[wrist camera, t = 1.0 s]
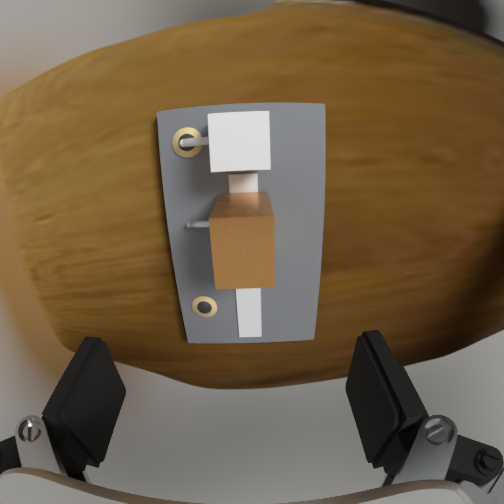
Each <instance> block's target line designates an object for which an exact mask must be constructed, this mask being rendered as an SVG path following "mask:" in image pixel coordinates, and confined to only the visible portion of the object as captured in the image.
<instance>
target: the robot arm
mask: <svg viewBox="0 0 504 504" xmlns="http://www.w3.org/2000/svg"><path fill="white" fill-rule="evenodd" d="M346 393H347V396H348V399H349V402H350V406H351V409H352V412H353V415H354V419H355V422H356V425H357V428H358V432H359V435H360V438H361V442H362V445H363V449H364V452H365V455H366V459H367V461H368V463H372V464H373V468H374V469H375V468H378V467H382V466H383V467H384V471H385V473H386V475H385V477H384V479H383V481H382V483H381V484H380V486H379V488H375V489H370V490H366V491H362V492H357V493H353V494H347V495H342V496H336V497H330V498H324V499H317V500H309V501H301V502H292V503H280V504H504V464H503V456H502V454H501V452H500V451H499V450H498V449H497V448H495V447H493V446H489V445H486V444H483V443H480V442H477V441H475V440H472V439H469V438H466V437H463V436H461V435H458V430H457V426H456V425H455V423H454V422H453V421H452V420H451V419H450V418H448V417H446V416H444V415H432V416H430V417H429V415H428V413H427V411H426V409H425V407H424V405H423V403H422V401H421V399H420V397H419V395H418V393H417V392H416V389H415V388H414V386H413V384H412V382H411V380H410V378H409V376H408V374H407V372H406V370H405V369H404V367H403V365H402V364H401V362H399V361H396V360H395V358H394V356H393V354H392V353H391V351H390V349H389V347H388V345H387V343H386V342H385V340H384V338H383V336H382V334H381V333H380V331H379V330H372V331H364V332H363V333H362V335H361V336H358V338H357V342H356V346H355V350H354V354H353V358H352V362H351V366H350V370H349V374H348V378H347V382H346ZM125 395H126V389H125V386H124V384H123V382H122V380H121V378H120V375H119V373H118V371H117V369H116V366H115V364H114V362H113V360H112V357H111V355H110V352H109V350H108V348H107V345H106V343H105V342H103V341H102V339H101V338H98V337H85V338H84V340H83V342H82V343H81V345H80V346H79V348H78V350H77V351H76V353H75V355H74V357H73V358H72V360H71V362H70V363H69V365H68V367H67V369H66V370H65V372H64V374H63V376H62V378H61V379H60V381H59V382H58V385H57V386H56V388H55V390H54V392H53V394H52V395H51V397H50V399H49V401H48V403H47V405H46V407H45V409H44V411H43V412H42V414H43V416H42V418H40V417H38V416H35V415H29V416H26V417H24V418H22V419H21V420H20V421H19V422H18V424H17V425H16V428H15V436H13V437H10V438H8V439H6V440H3V441H1V442H0V504H201V503H189V502H179V501H171V500H164V499H157V498H151V497H145V496H140V495H135V494H130V493H125V492H121V491H117V490H112V489H108V488H104V487H101V486H97V485H93V484H92V483H91V481H90V479H89V477H88V475H87V473H86V471H85V468H86V465H90V466H94V467H97V468H98V467H99V465H100V462H103V461H104V458H105V455H106V452H107V449H108V446H109V442H110V439H111V436H112V433H113V430H114V427H115V424H116V421H117V418H118V415H119V412H120V409H121V406H122V404H123V401H124V398H125Z"/></svg>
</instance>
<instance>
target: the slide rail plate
mask: <svg viewBox="0 0 504 504" xmlns="http://www.w3.org/2000/svg"><path fill="white" fill-rule="evenodd" d="M157 121H158V136H159V150H160V161H161V172H162V182H163V191H164V200H165V208H166V216H167V224H168V231H169V239H170V245H171V252H172V259H173V265H174V271H175V277H176V283H177V288H178V294H179V299H180V305H181V310H182V315H183V320H184V325H185V330H186V335H187V339H188V343H257V342H280V341H297V340H312V339H314V334H315V325H316V316H317V306H318V295H319V284H320V271H321V258H322V242H323V224H324V200H325V104H315V103H242V104H224V105H210V106H199V107H189V108H180V109H172V110H165V111H158V112H157ZM243 192H268V195H269V198H270V202H271V206H272V209H273V213H274V238H275V287H274V288H247V289H215V279H214V270H213V260H212V250H211V239H210V228H209V227H206V228H188V227H187V222H189V221H206V220H209V217H210V214H211V212H212V210H213V207H214V205H215V203H216V201H217V198H218V196H219V194H221V193H243Z"/></svg>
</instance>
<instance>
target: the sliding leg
mask: <svg viewBox="0 0 504 504" xmlns="http://www.w3.org/2000/svg"><path fill="white" fill-rule="evenodd" d="M187 227H188V228H206V227H209V228H210V239H211V250H212V260H213V270H214V279H215V289H247V288H274V287H275V238H274V213H273V209H272V206H271V202H270V198H269V195H268V192H243V193H221V194H219V196H218V198H217V201H216V203H215V205H214V207H213V210H212V212H211V214H210V217H209V220H206V221H189V222H187Z"/></svg>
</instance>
